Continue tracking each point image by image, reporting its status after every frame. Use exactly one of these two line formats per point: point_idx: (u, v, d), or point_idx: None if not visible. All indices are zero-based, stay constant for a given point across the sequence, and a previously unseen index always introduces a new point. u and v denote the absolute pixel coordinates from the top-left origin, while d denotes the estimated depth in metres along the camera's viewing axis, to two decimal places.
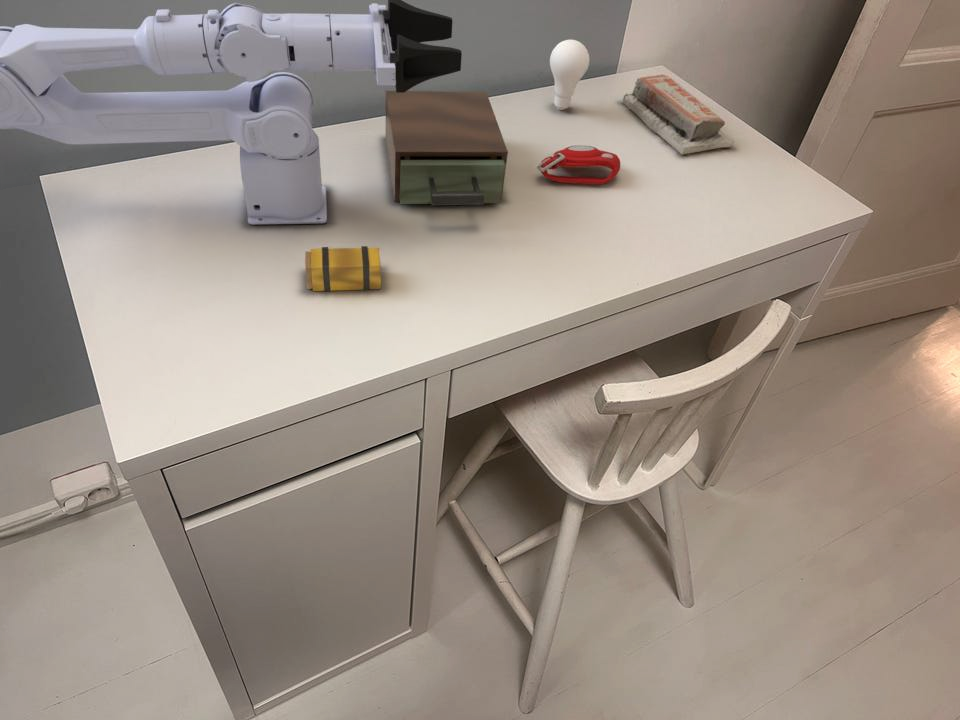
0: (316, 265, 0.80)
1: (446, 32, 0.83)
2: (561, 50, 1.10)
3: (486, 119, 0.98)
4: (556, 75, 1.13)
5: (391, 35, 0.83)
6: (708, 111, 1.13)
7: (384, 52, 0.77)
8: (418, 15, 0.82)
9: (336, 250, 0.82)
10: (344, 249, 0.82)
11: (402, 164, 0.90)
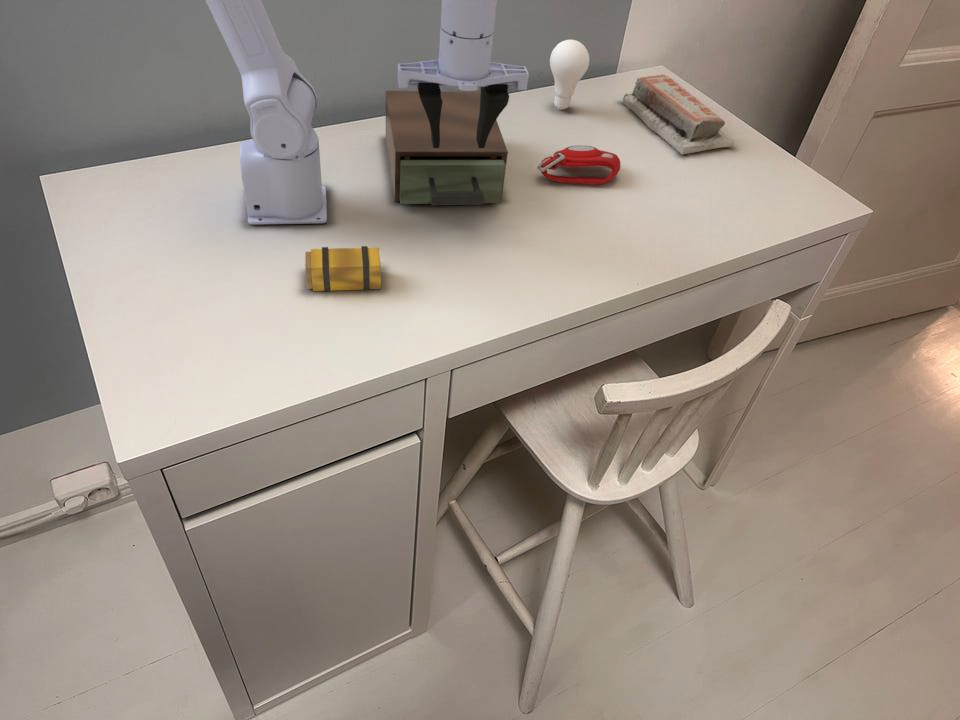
0: (316, 265, 0.80)
1: (477, 137, 0.87)
2: (561, 50, 1.10)
3: None
4: (556, 75, 1.13)
5: None
6: (708, 111, 1.13)
7: None
8: (484, 119, 0.84)
9: (336, 250, 0.82)
10: (344, 249, 0.82)
11: (402, 164, 0.90)
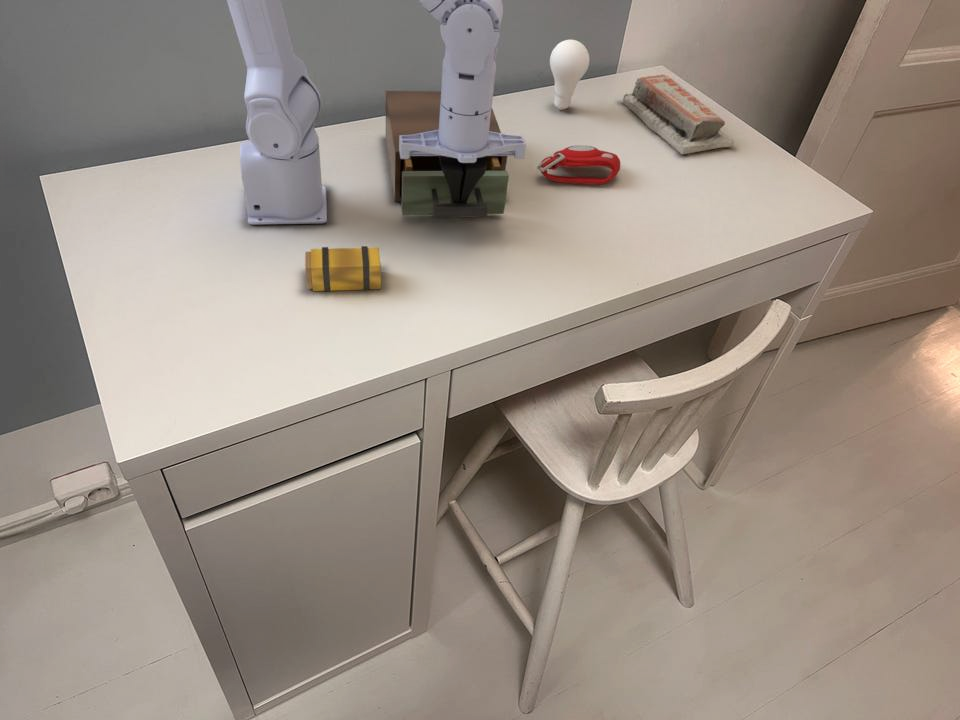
0: (316, 265, 0.80)
1: None
2: (561, 50, 1.10)
3: None
4: (556, 75, 1.13)
5: None
6: (708, 111, 1.13)
7: None
8: (463, 186, 0.86)
9: (336, 250, 0.82)
10: (344, 249, 0.82)
11: (404, 175, 0.88)
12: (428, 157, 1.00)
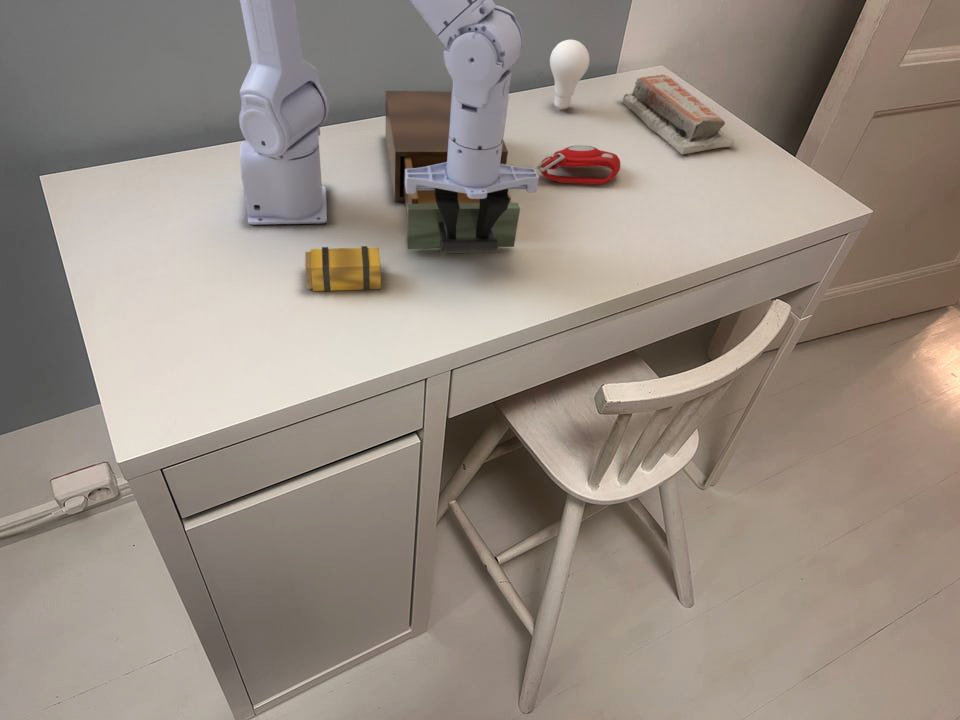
0: (316, 265, 0.80)
1: (477, 235, 0.85)
2: (561, 50, 1.10)
3: None
4: (556, 75, 1.13)
5: None
6: (708, 111, 1.13)
7: None
8: (483, 221, 0.82)
9: (336, 250, 0.82)
10: (344, 249, 0.82)
11: (409, 209, 0.83)
12: None
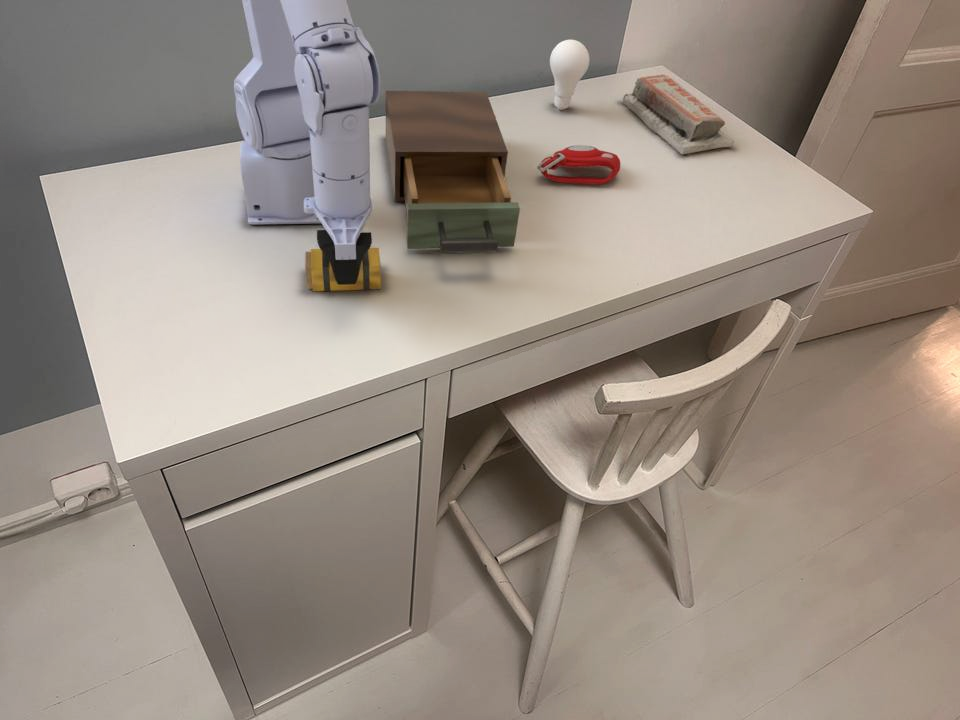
0: (316, 265, 0.80)
1: None
2: (561, 50, 1.10)
3: (486, 119, 0.98)
4: (556, 75, 1.13)
5: None
6: (708, 111, 1.13)
7: None
8: None
9: None
10: None
11: (409, 208, 0.83)
12: (434, 185, 0.96)
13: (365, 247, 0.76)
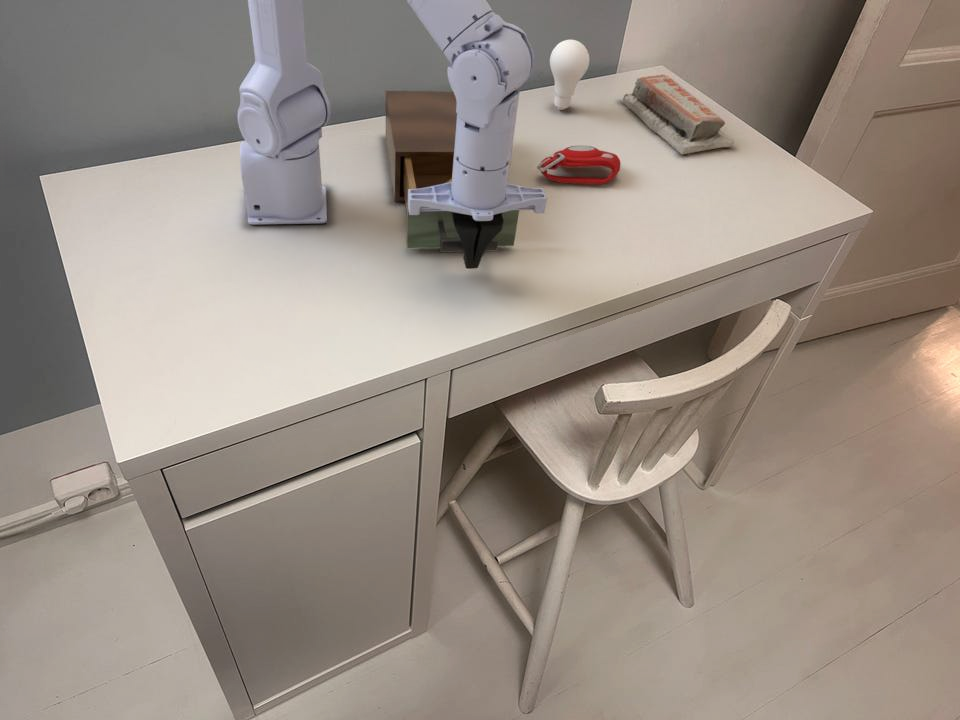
0: None
1: None
2: (561, 50, 1.10)
3: None
4: (556, 75, 1.13)
5: None
6: (708, 111, 1.13)
7: None
8: (477, 243, 0.79)
9: None
10: None
11: None
12: (434, 184, 0.96)
13: None
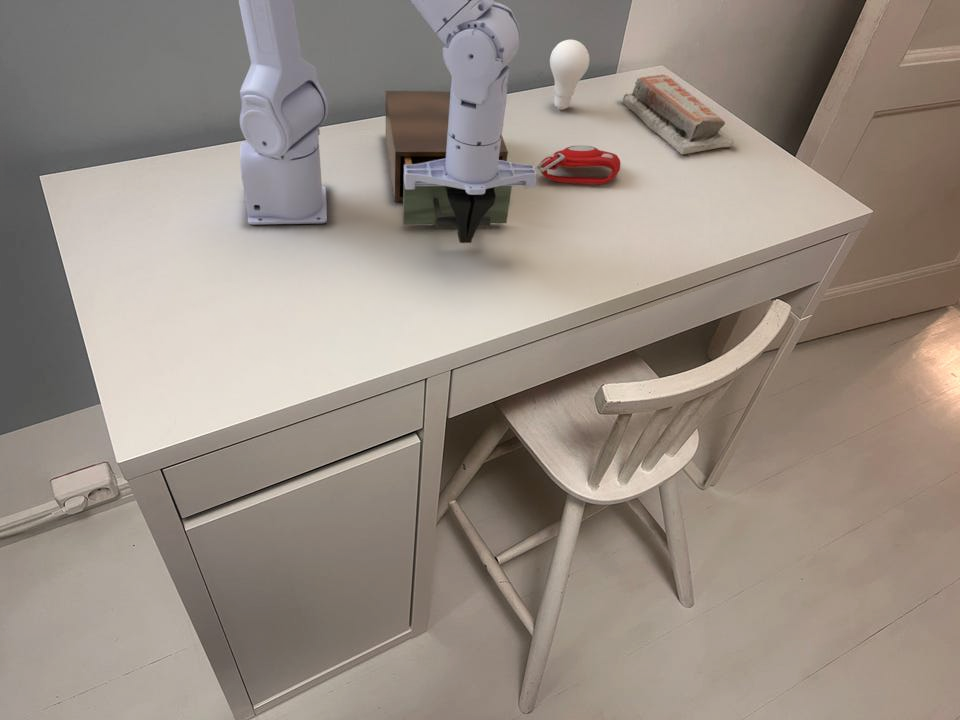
0: None
1: None
2: (561, 50, 1.10)
3: None
4: (556, 75, 1.13)
5: None
6: (708, 111, 1.13)
7: None
8: (470, 217, 0.82)
9: None
10: None
11: None
12: None
13: None
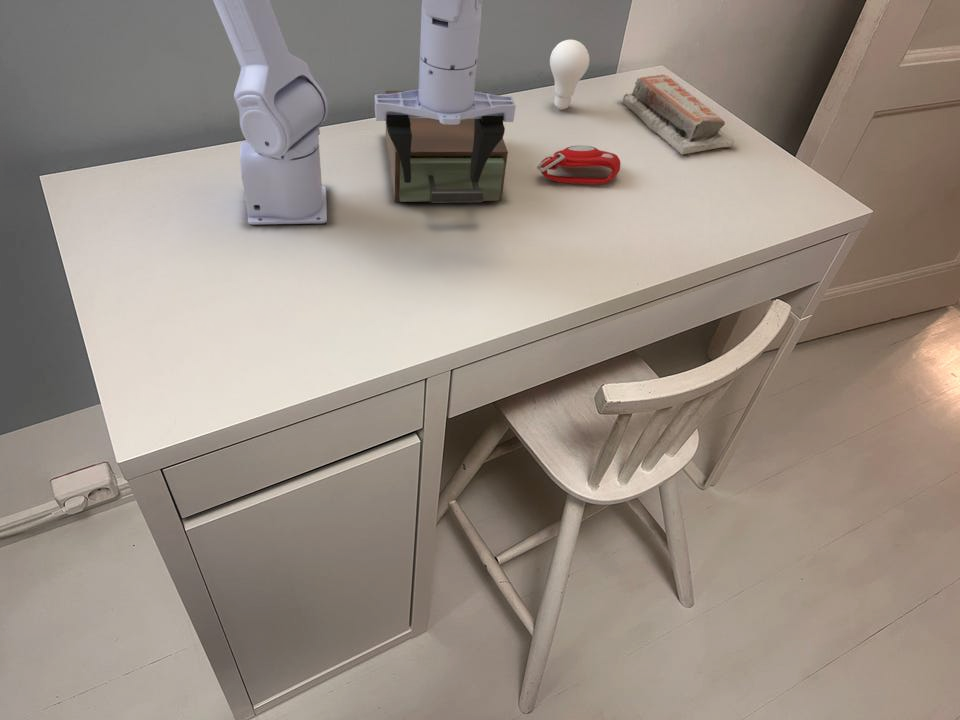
0: None
1: (471, 170, 0.82)
2: (561, 50, 1.10)
3: None
4: (556, 75, 1.13)
5: None
6: (708, 111, 1.13)
7: None
8: (478, 153, 0.78)
9: None
10: None
11: None
12: None
13: None
